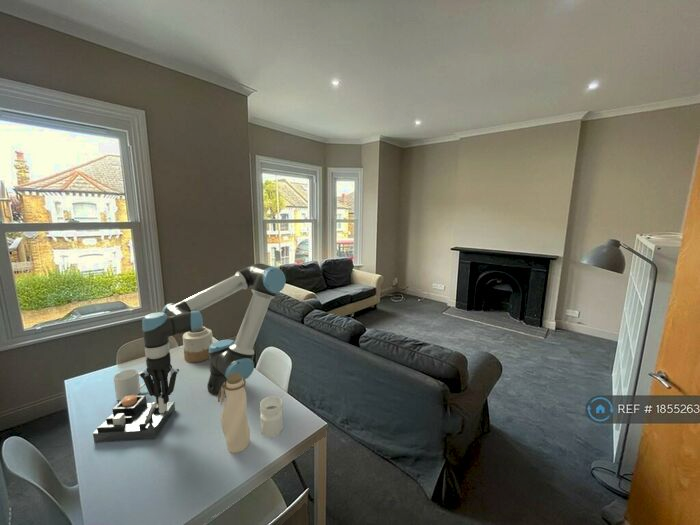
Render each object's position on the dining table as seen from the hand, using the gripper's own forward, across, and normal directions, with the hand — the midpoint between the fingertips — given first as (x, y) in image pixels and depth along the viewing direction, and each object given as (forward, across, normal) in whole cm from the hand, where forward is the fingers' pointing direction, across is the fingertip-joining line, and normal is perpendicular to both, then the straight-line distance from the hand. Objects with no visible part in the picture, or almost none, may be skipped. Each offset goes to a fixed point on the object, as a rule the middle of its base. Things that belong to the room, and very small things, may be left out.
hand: (163, 410), depth 110 cm
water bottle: (+10, -29, +9) cm, 32 cm away
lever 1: (+4, +6, 0) cm, 8 cm away
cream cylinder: (+10, -41, +2) cm, 42 cm away
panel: (+10, +13, -5) cm, 17 cm away
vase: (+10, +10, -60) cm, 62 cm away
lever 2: (+4, +6, -9) cm, 12 cm away
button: (+5, +18, -9) cm, 21 cm away
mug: (+10, +27, -25) cm, 38 cm away
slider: (+5, +16, 0) cm, 17 cm away
